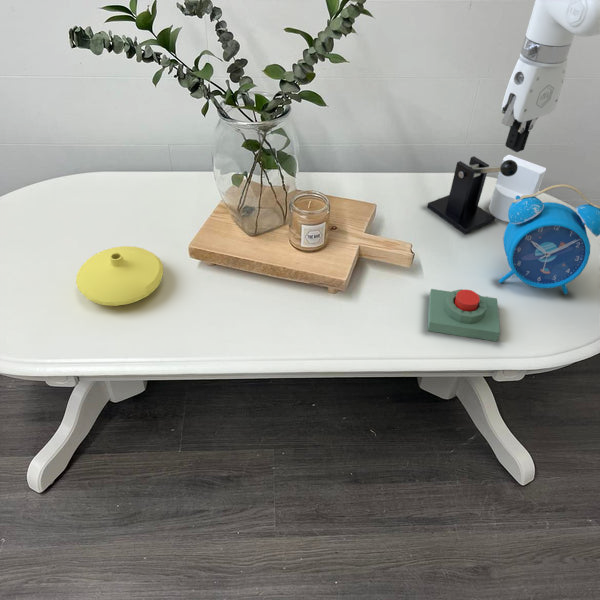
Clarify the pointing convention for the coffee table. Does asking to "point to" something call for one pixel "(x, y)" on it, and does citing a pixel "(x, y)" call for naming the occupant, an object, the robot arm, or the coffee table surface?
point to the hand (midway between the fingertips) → (514, 148)
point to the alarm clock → (548, 240)
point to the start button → (467, 300)
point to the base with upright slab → (515, 186)
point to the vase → (119, 275)
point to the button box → (463, 316)
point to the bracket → (464, 199)
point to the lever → (497, 168)
